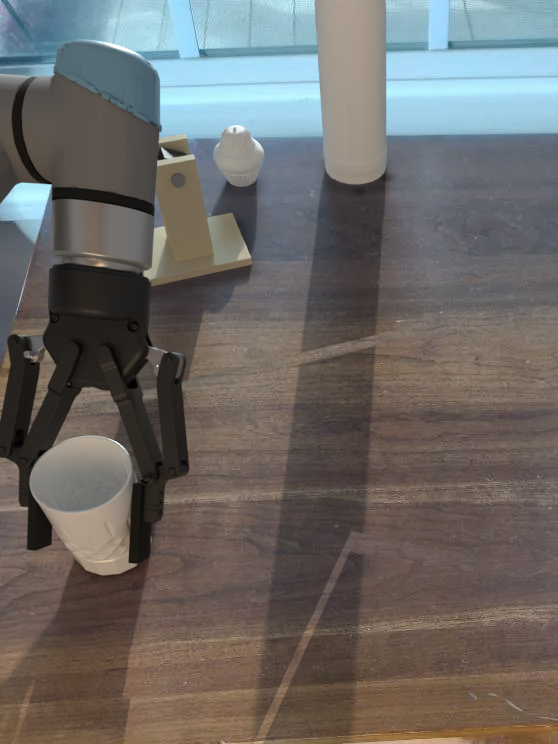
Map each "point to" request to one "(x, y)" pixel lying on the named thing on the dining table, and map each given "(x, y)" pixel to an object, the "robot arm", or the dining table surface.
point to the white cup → (88, 500)
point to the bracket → (190, 224)
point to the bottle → (352, 87)
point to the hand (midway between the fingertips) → (89, 553)
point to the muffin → (238, 156)
